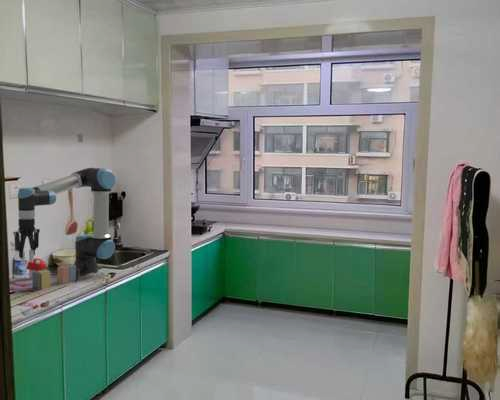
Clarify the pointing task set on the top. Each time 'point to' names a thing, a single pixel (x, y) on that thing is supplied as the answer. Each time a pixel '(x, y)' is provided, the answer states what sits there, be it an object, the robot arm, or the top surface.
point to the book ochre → (44, 279)
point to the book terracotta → (63, 274)
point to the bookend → (35, 282)
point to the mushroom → (35, 266)
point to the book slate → (72, 272)
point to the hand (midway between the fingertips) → (27, 262)
